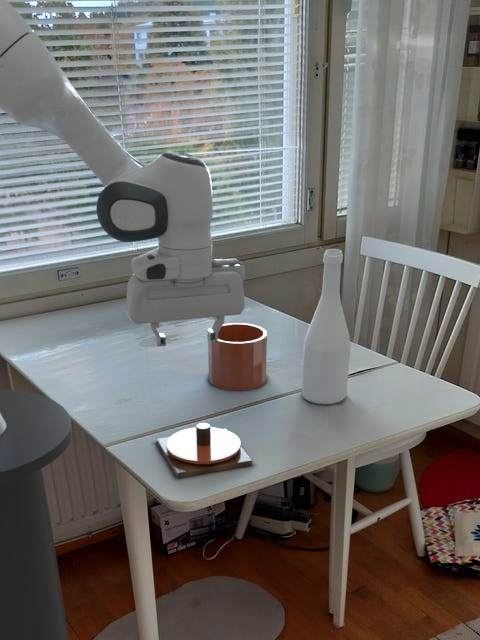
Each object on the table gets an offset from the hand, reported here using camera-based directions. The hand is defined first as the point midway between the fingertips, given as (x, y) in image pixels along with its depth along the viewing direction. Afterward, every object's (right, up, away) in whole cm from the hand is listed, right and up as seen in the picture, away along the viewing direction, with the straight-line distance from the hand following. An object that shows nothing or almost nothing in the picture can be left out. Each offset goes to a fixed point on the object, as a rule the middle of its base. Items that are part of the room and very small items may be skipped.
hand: (186, 342), depth 137 cm
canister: (+9, +1, +37) cm, 38 cm away
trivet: (+3, -19, +8) cm, 20 cm away
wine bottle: (+27, -4, +30) cm, 40 cm away
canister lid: (+3, -17, +7) cm, 19 cm away
